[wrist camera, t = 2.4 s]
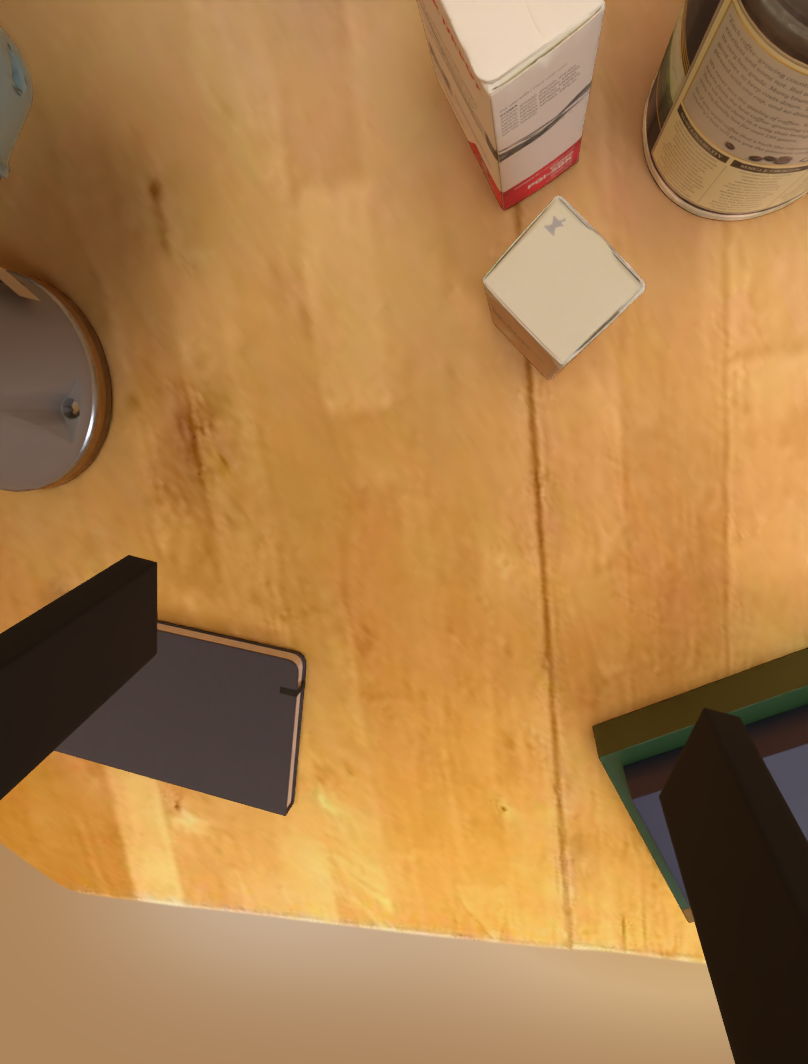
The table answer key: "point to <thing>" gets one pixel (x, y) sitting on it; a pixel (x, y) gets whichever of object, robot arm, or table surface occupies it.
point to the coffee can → (731, 108)
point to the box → (558, 287)
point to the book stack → (663, 729)
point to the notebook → (205, 719)
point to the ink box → (516, 82)
